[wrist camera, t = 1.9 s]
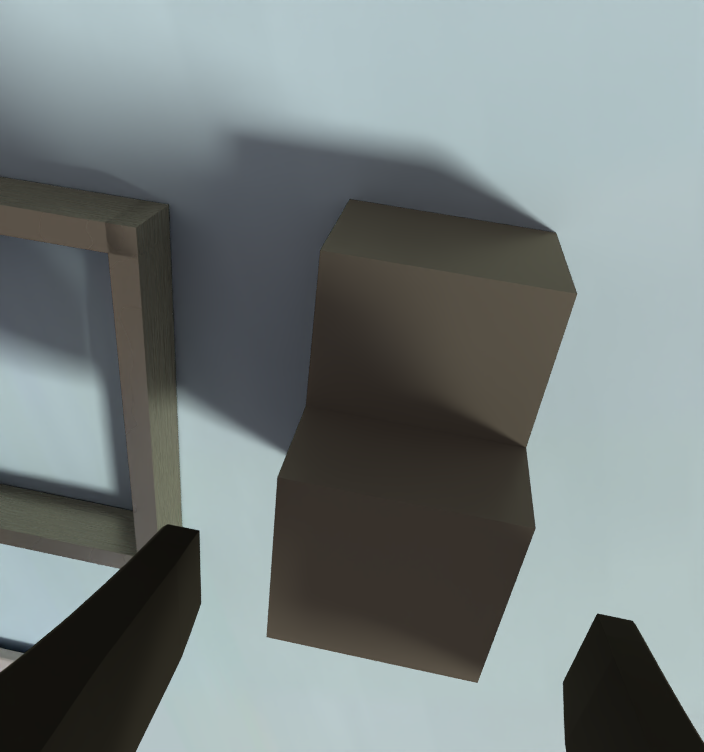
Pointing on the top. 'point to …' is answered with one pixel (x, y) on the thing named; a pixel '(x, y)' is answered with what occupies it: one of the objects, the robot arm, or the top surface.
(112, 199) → the grey rectangular frame
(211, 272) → the top surface
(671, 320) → the top surface
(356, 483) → the stepped block
